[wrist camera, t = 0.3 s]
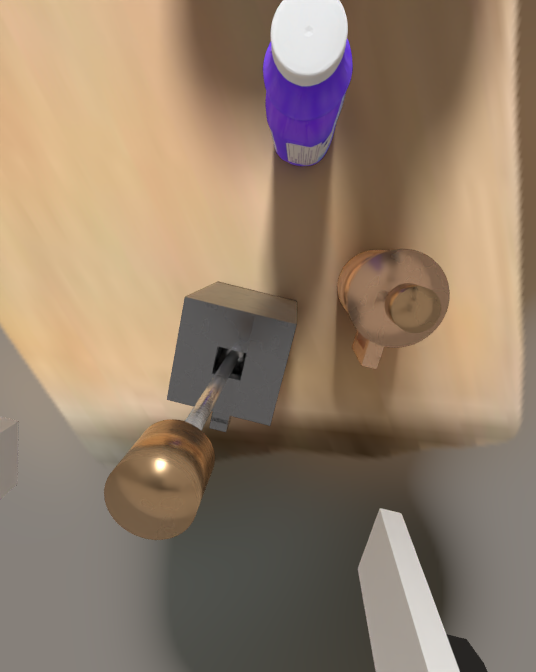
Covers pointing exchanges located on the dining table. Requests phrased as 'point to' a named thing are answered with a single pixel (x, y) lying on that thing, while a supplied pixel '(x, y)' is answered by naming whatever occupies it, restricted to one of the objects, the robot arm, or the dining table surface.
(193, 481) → the plunger tall
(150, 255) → the dining table surface
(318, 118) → the bottle
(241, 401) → the cube with square hole
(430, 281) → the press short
